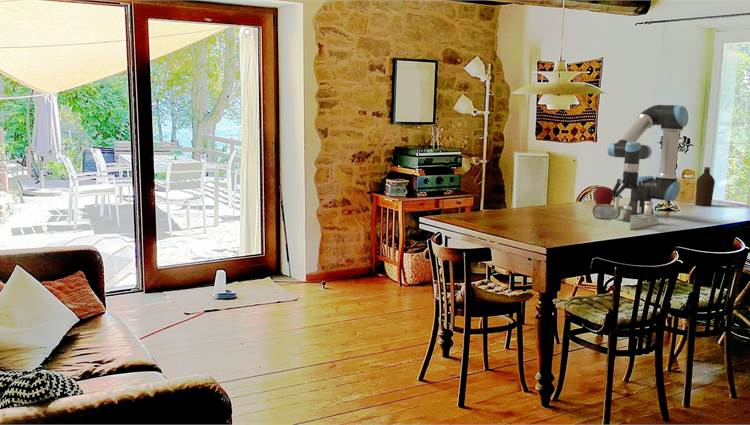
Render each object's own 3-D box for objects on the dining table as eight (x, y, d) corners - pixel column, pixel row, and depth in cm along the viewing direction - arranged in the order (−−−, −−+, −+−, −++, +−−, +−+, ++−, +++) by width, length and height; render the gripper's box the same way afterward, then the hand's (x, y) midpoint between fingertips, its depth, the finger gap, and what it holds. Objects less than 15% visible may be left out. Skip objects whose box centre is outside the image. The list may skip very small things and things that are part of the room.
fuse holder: (625, 223, 375) (626, 215, 374) (642, 220, 385) (643, 212, 385) (642, 226, 367) (642, 218, 367) (659, 223, 378) (659, 215, 377)
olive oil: (714, 207, 440) (718, 168, 436) (696, 206, 442) (700, 167, 437) (709, 204, 450) (713, 166, 446) (692, 203, 452) (696, 166, 448)
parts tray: (609, 226, 368) (610, 219, 367) (622, 223, 375) (622, 217, 374) (629, 229, 358) (630, 223, 358) (642, 227, 366) (643, 221, 365)
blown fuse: (620, 224, 367) (622, 206, 365) (624, 223, 369) (626, 205, 368) (627, 226, 364) (629, 207, 362) (631, 225, 366) (633, 206, 364)
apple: (604, 209, 423) (606, 187, 421) (589, 206, 432) (590, 185, 430) (616, 207, 430) (618, 186, 428) (600, 204, 439) (602, 184, 437)
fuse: (641, 219, 379) (643, 201, 377) (645, 218, 382) (647, 200, 380) (648, 220, 376) (650, 202, 374) (652, 219, 378) (654, 201, 377)
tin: (619, 219, 389) (620, 204, 387) (619, 220, 386) (621, 205, 384) (591, 217, 393) (593, 203, 391) (592, 218, 390) (593, 204, 388)
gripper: (606, 169, 369) (603, 207, 372) (648, 174, 349) (645, 214, 353) (614, 168, 373) (610, 206, 377) (656, 173, 354) (652, 213, 358)
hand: (627, 210), depth 365 cm, fingers open, 13 cm apart
